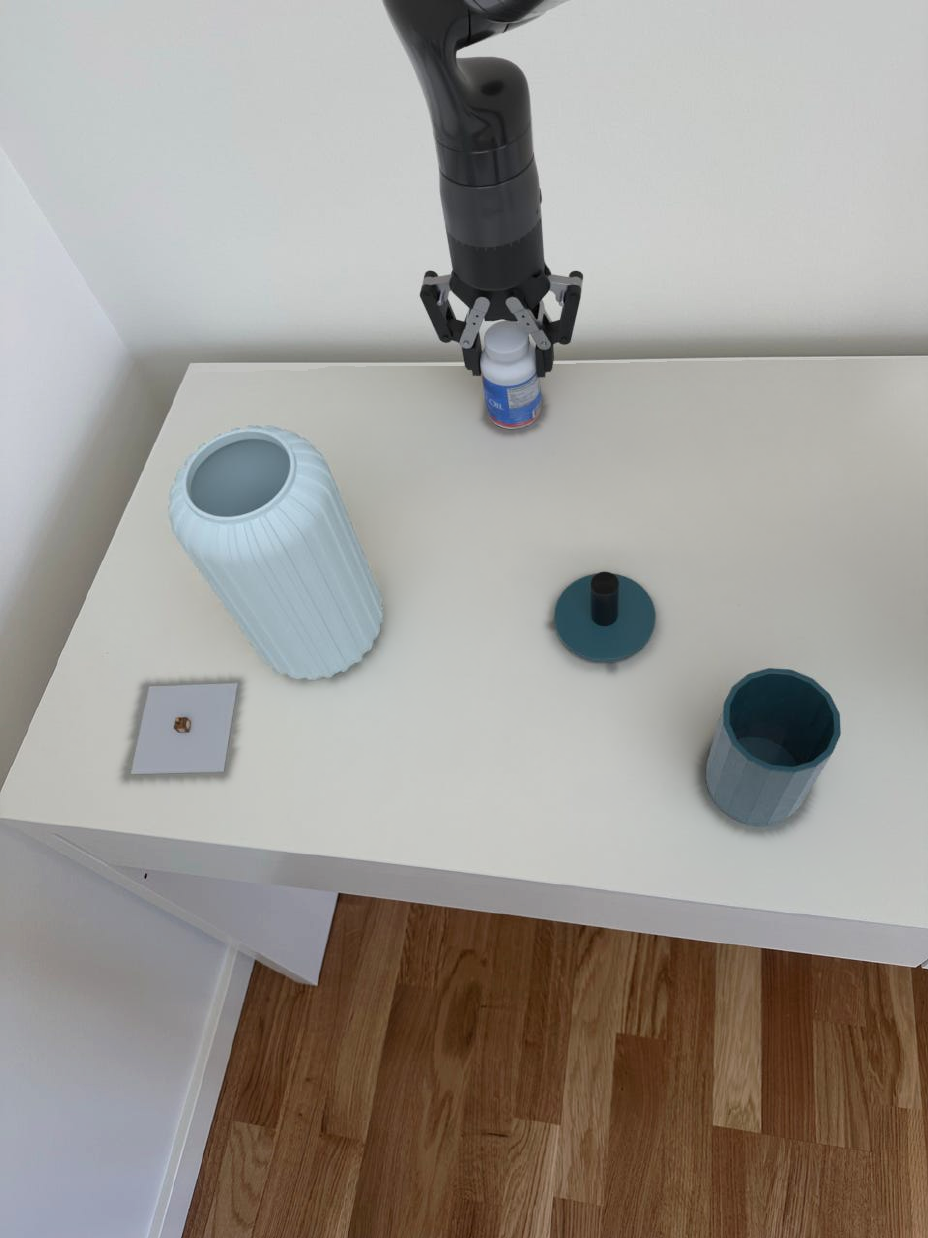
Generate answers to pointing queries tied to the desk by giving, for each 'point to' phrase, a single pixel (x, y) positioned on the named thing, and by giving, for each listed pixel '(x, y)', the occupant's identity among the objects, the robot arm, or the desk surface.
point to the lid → (604, 617)
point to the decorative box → (185, 729)
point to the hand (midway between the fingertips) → (510, 369)
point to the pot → (770, 745)
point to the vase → (278, 549)
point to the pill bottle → (510, 376)
